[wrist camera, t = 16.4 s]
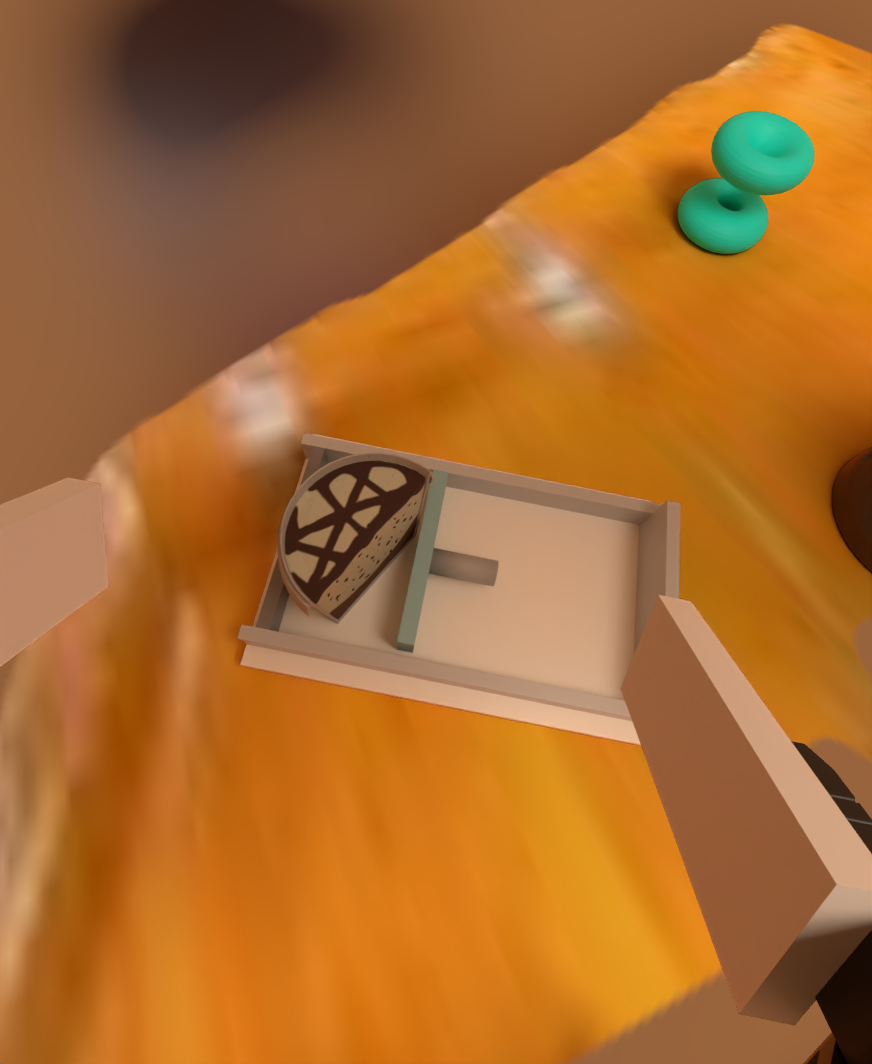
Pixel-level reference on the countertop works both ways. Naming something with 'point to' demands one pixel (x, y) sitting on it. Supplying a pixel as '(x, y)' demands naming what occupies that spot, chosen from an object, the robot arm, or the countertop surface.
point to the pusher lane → (494, 603)
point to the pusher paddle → (437, 564)
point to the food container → (349, 528)
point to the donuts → (744, 180)
